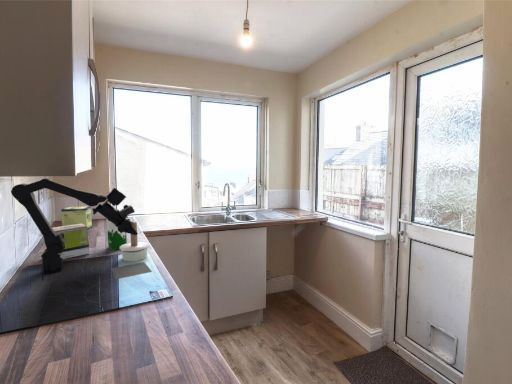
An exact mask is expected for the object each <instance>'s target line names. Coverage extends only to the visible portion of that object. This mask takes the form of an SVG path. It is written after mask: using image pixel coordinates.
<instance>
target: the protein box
mask: <svg viewBox="0 0 512 384" xmlns="http://www.w3.org/2000/svg"><path fill="white" fill-rule="evenodd" d="M60 211H61V212H60V213H61V225H62V226H68V225H75V224H84V225H86V226H87V229H88V230H90V229H91V228H93V225H92V222H93V221H92V206H88V205H87V206H67V207H64V208H61V210H60ZM89 228H90V229H89Z"/></svg>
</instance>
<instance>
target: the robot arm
mask: <svg viewBox="0 0 512 384" xmlns="http://www.w3.org/2000/svg"><path fill="white" fill-rule="evenodd" d="M43 189H47V190H50V191H52V192H56V193H59V194H61V195H64V196H68V197H70V198H73V199H76V200H78V201H80V202H81V203H83V204H85V205H87V206H91V211H93V212H92V214H93V216H95V215H96V214H97V213H99V214H100V215H101V216H102V217H104V218H105V219H106V218H107V219H108V221H110V222H112V223H113V224H114V225H115V226H116V227H117V229H118V231H119V232H120V233H122V232H125V233H126V234H133V235H137V236H138V234H139V233H138V231H137V232H136V231H135V229H134V228H133V227H132V226H131V222H132V221H131V219H130V218H129V215H131V214H134V213H136V211H135V209H134V207H133V206H132V204H131V205H128V204H124V205H123V208H122V209H120V210H119V209H118V208H117V209H116V208H115V207H114V206H119V205H120V204H121V203H122V202H124V200H125V199H126V198H127V196H126V195H125V194H124V193H123V192H121V191H120V190H118V189H117V188H116V187H113V188H112V189H111V191H110V192H109V193H108V194H107V195H103V194H102V195H101V194H100V195H99V194H98V193H96V192H92V191H87V190H80V189H77V188H74V187H73V186H69V185H66V184H63V183H60V182H59V181H58V182H57V181H55V180H51V179H50V178H42V179H40V180H37V181H34V182H31V183H19V184H15V185H13V187H12V188H11V191H10V193H11V196H12V197H13V198H15V200H16V201H17V202H18V203H19V204H20V205H22V206H23V207H24V208H25V210H26V212H28V214H29V216H30V217H31V219H32V221H33V222H34V224H35V225H36V227H37V229H38V230H39V231H40V233H41V235H42V237H43V240H44V241H43V242H44V244H45V247H46V248H45V249H44V250H43V252H42V254H41V256H40V258H41V259H42V262H41V263H42V274H43V275H45V274H49V273H50V274H51V273H56V272H61V271H62V269H63V268H64V266H63V264H64V263H63V259H62V257H61V258H60V254H59V253H60V252H62V250H63V248H64V246H65V239H64V238H63V237H62V234H61V232H60V233H58V234H57V233H56V232H55V231H54V230H53V229H52V228H53V227H52V225H51V224H50V223H49V221H48V219H47V218H46V216H45V214H44V212H43V211H42V209H41V208H40V206H39V204H38V203H37V200H36V196H35V193H36V192H38V191H41V190H43Z"/></svg>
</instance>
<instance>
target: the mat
mask: <svg viewBox="0 0 512 384" xmlns="http://www.w3.org/2000/svg"><path fill="white" fill-rule="evenodd" d="M110 270H111V272H112V274H113V277H114V278H115V280H119V279H123V278H128V277H133V276H138V275H142V274H147V273H151V272H153V271H152V270H151V268H150V267H149V266H148V265H147V264H146V262H145V261H142V262H138V263H132V264H126V265H123V266H122V265H121V266H117V267H111V268H110Z"/></svg>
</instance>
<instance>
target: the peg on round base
mask: <svg viewBox="0 0 512 384" xmlns="http://www.w3.org/2000/svg"><path fill="white" fill-rule="evenodd" d="M131 226H132V227H133V228H134V229H135V231H136V232H137V233H138V223H137V221H136V220H135V221H134V220H133V221H131ZM149 247H150V245H149V243H148V242H146V241H145V242H143V241H138V234H137V235H133V234H130V242H127V244H123V245H121V246H120V249H119V250H120V251H121V252H122V251H138V250H142V249H145V248H147V249H148V248H149Z"/></svg>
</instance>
